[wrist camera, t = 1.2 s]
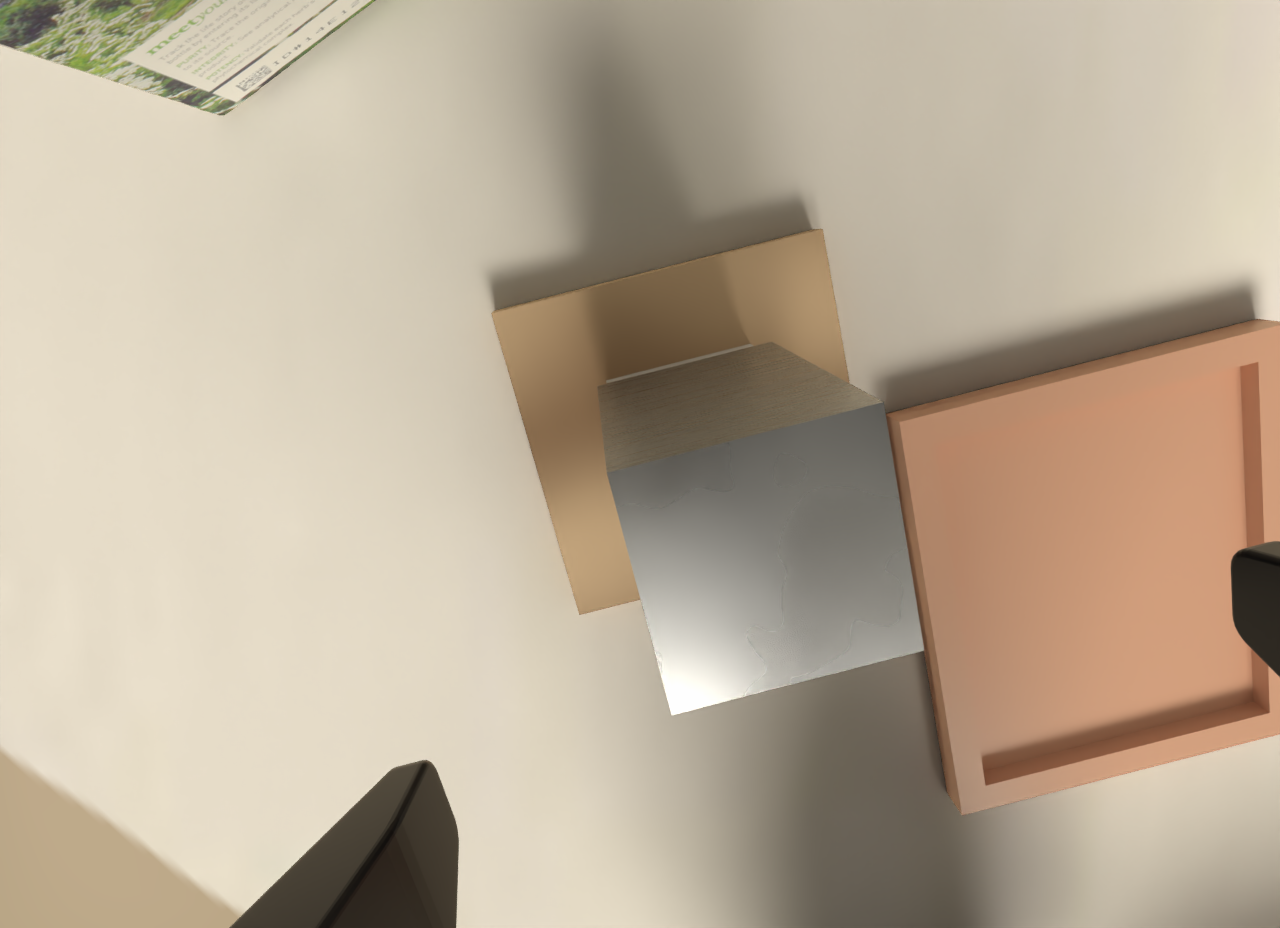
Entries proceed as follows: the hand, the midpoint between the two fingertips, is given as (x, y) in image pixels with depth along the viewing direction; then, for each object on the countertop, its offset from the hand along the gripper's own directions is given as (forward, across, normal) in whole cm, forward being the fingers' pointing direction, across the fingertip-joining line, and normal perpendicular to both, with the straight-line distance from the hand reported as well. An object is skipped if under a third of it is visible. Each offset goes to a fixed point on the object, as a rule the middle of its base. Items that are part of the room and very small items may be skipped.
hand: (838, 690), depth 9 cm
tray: (+13, -10, +7) cm, 18 cm away
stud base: (+13, 0, 0) cm, 13 cm away
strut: (+10, 0, 0) cm, 10 cm away
